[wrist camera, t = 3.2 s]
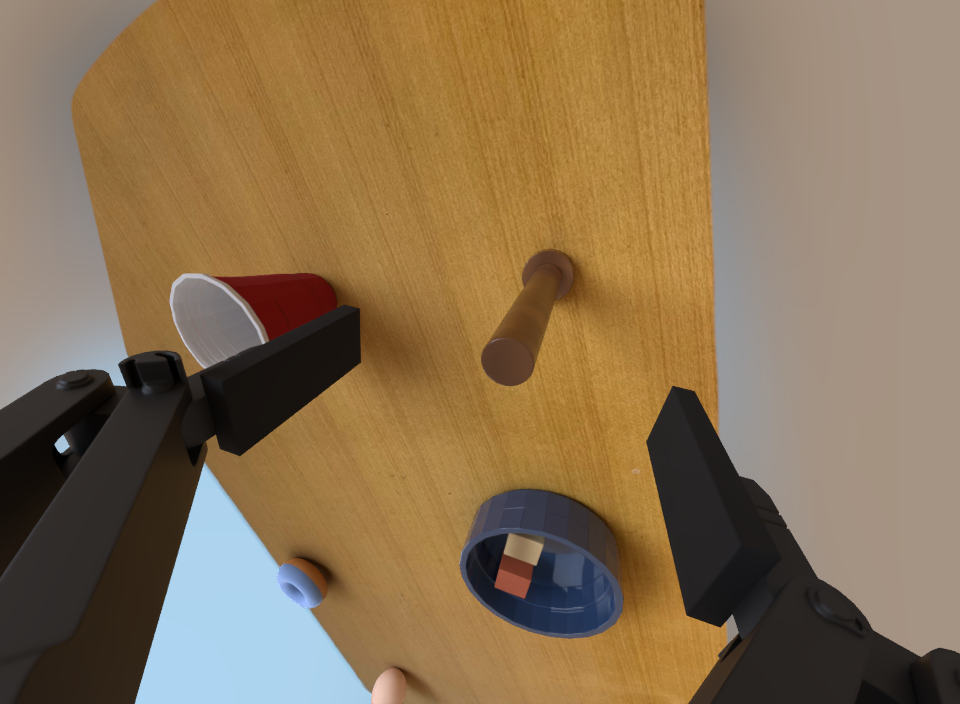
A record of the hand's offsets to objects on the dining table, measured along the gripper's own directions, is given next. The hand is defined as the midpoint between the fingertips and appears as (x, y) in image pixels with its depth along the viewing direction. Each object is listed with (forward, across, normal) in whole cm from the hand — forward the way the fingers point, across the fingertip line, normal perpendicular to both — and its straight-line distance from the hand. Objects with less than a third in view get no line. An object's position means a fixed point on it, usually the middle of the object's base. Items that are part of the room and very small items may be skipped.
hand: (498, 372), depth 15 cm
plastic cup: (+19, -25, -8) cm, 32 cm away
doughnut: (+19, -31, -64) cm, 74 cm away
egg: (+19, -12, -88) cm, 91 cm away
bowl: (+19, +7, -34) cm, 40 cm away
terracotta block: (+18, +5, -38) cm, 42 cm away
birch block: (+18, +5, -30) cm, 36 cm away
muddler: (+19, 0, 0) cm, 19 cm away
